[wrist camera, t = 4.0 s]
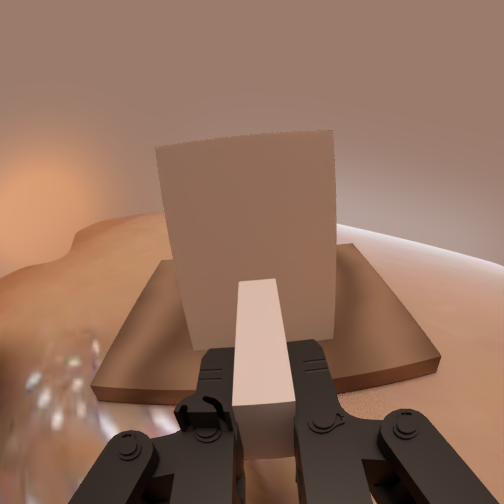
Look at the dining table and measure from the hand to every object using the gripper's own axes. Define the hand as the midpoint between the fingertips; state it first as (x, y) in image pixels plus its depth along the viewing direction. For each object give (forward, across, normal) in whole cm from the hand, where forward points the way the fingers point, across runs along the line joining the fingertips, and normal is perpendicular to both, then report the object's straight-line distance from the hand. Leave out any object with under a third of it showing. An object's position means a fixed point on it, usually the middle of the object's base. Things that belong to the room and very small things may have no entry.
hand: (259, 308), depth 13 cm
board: (+13, 0, -8) cm, 16 cm away
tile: (+7, 0, -7) cm, 10 cm away
